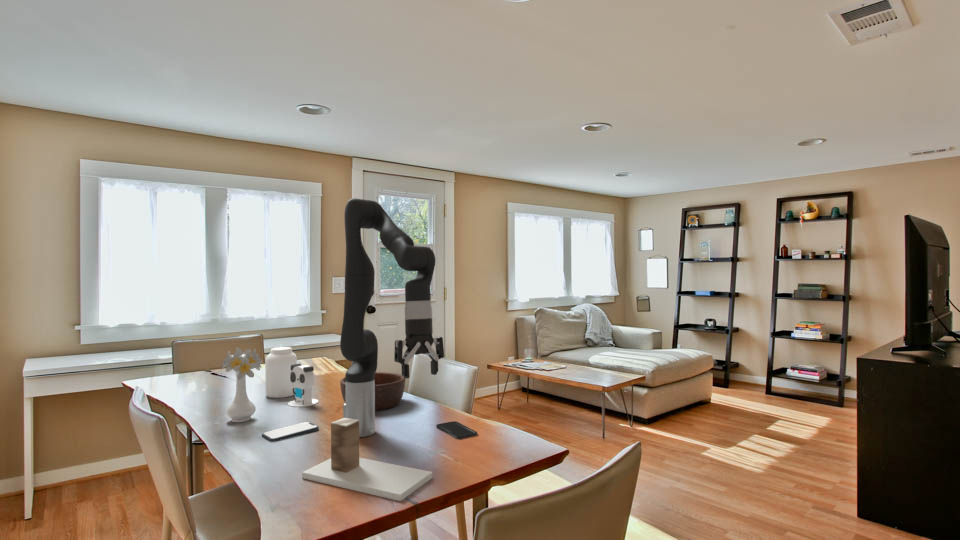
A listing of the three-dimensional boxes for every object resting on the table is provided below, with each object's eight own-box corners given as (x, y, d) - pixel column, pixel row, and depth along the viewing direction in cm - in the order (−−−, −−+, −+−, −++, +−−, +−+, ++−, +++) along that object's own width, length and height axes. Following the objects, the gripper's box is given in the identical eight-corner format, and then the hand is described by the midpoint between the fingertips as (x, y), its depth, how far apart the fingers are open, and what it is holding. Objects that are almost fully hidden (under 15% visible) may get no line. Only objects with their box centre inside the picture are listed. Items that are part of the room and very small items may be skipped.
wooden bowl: (345, 417, 180) (345, 388, 180) (336, 400, 203) (336, 375, 203) (413, 408, 190) (412, 381, 190) (396, 393, 213) (396, 369, 213)
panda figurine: (281, 403, 199) (281, 365, 199) (307, 397, 207) (307, 361, 207) (297, 408, 191) (297, 369, 191) (323, 402, 199) (323, 364, 199)
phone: (455, 420, 172) (478, 432, 159) (455, 424, 172) (478, 436, 159) (434, 424, 168) (457, 437, 155) (434, 428, 168) (457, 440, 155)
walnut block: (331, 469, 129) (330, 422, 129) (344, 462, 133) (344, 417, 133) (346, 472, 127) (346, 425, 126) (359, 465, 131) (359, 419, 131)
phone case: (271, 444, 154) (320, 431, 165) (271, 439, 154) (320, 426, 165) (260, 438, 160) (307, 425, 171) (260, 432, 160) (307, 420, 171)
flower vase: (232, 430, 165) (232, 354, 165) (214, 418, 178) (214, 348, 178) (272, 421, 174) (271, 350, 174) (252, 411, 188) (251, 344, 188)
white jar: (302, 394, 212) (302, 347, 212) (273, 400, 203) (273, 351, 203) (289, 389, 221) (288, 344, 221) (260, 395, 212) (260, 347, 212)
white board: (302, 478, 127) (302, 472, 127) (339, 459, 140) (339, 453, 140) (400, 501, 114) (400, 494, 114) (432, 477, 127) (432, 472, 127)
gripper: (434, 316, 146) (436, 372, 145) (389, 318, 138) (390, 378, 137) (447, 316, 140) (449, 374, 139) (401, 318, 132) (402, 380, 131)
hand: (420, 376), depth 138 cm, fingers open, 8 cm apart
